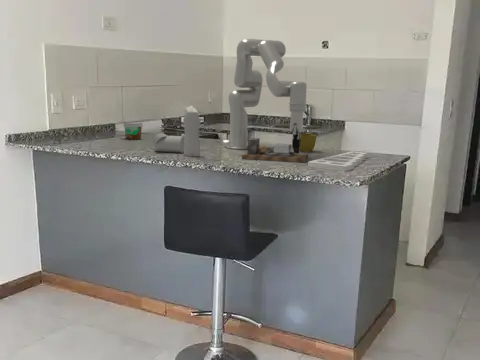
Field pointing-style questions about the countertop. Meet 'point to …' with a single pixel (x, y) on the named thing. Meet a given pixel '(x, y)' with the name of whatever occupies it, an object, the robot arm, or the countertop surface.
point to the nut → (262, 149)
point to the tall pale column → (191, 134)
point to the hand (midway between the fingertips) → (296, 146)
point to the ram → (285, 148)
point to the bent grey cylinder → (168, 143)
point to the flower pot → (307, 142)
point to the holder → (339, 161)
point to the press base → (270, 154)
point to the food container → (133, 131)
